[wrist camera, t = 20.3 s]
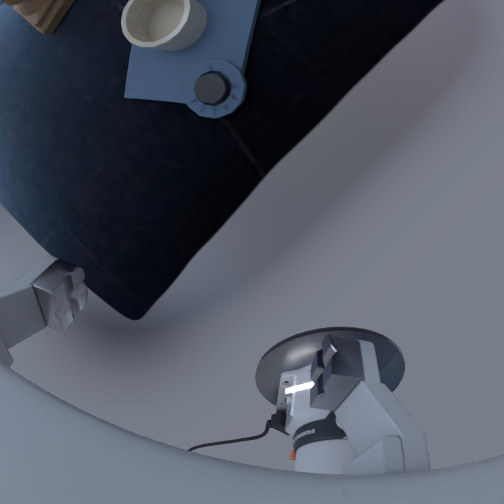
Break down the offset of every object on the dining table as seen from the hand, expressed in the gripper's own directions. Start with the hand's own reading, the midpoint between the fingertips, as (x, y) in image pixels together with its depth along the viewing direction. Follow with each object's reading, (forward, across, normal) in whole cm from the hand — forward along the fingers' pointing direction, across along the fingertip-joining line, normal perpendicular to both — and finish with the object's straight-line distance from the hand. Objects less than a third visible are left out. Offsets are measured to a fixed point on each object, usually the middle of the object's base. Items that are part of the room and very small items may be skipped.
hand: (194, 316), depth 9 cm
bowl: (+22, +12, -12) cm, 28 cm away
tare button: (+21, +6, -5) cm, 23 cm away
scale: (+24, +10, -10) cm, 28 cm away
